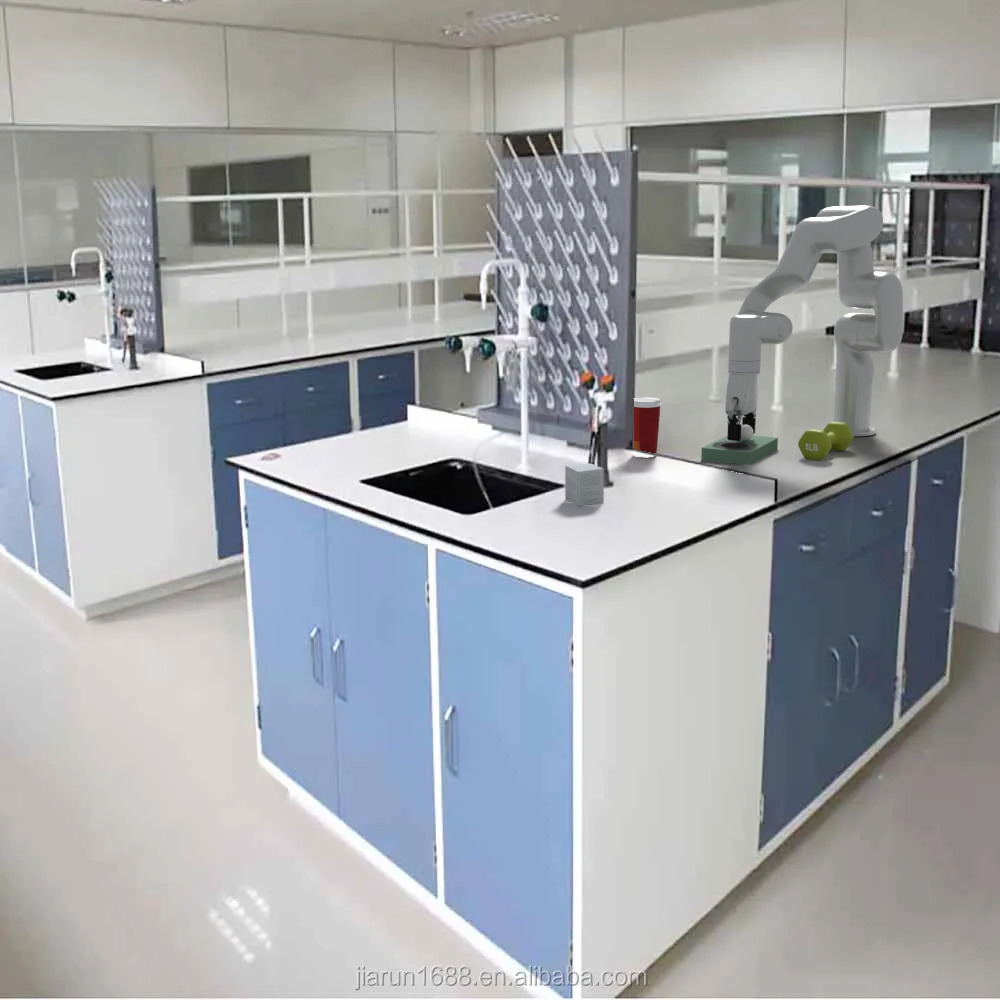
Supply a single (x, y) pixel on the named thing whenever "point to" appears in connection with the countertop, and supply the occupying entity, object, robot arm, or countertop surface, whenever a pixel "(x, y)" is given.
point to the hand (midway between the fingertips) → (741, 436)
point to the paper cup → (646, 423)
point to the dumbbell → (825, 440)
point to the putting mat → (739, 450)
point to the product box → (584, 484)
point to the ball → (746, 432)
